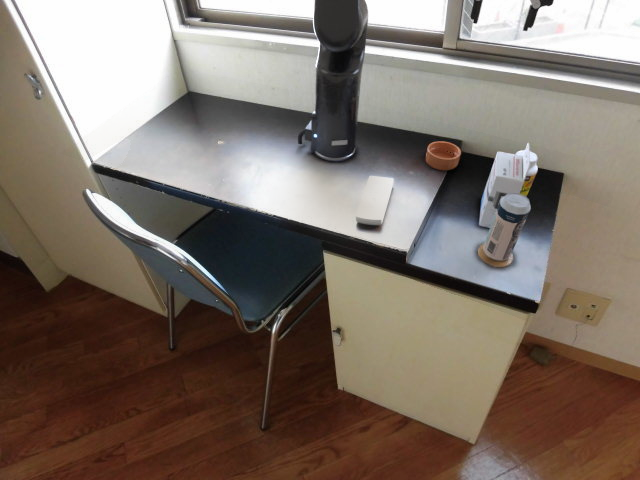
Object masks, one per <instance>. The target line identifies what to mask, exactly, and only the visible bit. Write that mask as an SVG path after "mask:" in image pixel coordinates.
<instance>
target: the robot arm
mask: <svg viewBox="0 0 640 480" xmlns="http://www.w3.org/2000/svg"><path fill="white" fill-rule="evenodd" d="M483 2H484V0H473V3H472V8H471V11H470V17H469V18H470V20H472V21H473V22H472V24H478V22H479V18H480V14H481V10H482V5H483ZM530 3H531V4H529V7H528V11H527V13H526V14H527V15H526V17H525V21H524V23H523V28H522V31H524V32H528V29H532V28H533V27H534V24H535V21H536V18H537V15H538V12H539V10H540V8H542V7H551V6H552V5H553V4H554V0H530ZM312 24H313V32H314V34H315V36H316V39H317V41H318V42H319V45H318V46H319V47H318V53H317V59H316V63H315V83H314V84H315V85H314V86H315V87H314V88H315V89H314V91H315V92H314V110H313V112H312V113H311V117H310V118H311V120H310V121H309V123H308V124H307V125H306V126H305V128H304V129H303V130H301V131H300V132H299V134H298V136H297V144H298V145H302V144H303V136H304V141H308V142H310V153H311V154H315V155H316V157H318V158H319V159H322V160H324V161H328V162H343V161H347V160H349V159H352V158H353V157H354V155H355V154H356V141H357V128H358V116H359V106H360V95H361V83H362V73H363V66H364V63H365V62H364V61H365V53H366V43H367V37H368V36H367V35H368V25H369V8H368V5H367V1H366V0H314V6H313V19H312Z"/></svg>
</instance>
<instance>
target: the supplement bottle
mask: <svg viewBox="0 0 640 480" xmlns="http://www.w3.org/2000/svg"><path fill="white" fill-rule="evenodd" d="M524 152H525V149H521V150H518V151H517V152H516V153H515V155H520V156H523V155H524ZM538 158H539V157H538V155H537V154H536V153H535V152H533V151H531V150H530V168H529V171H528V173H527V176H526V178H525V180H524V183H523V186H522V188H521V191H520V193H519V194H522V195H524V196H525V197H527V198H528V194H529V192H530V190H531V187H532V184H533V182H534V181H535V178H536V175H537V173H538V170H539V169H538V168H539V167H538V165H537V162H538ZM526 164H527V158H526Z"/></svg>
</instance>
